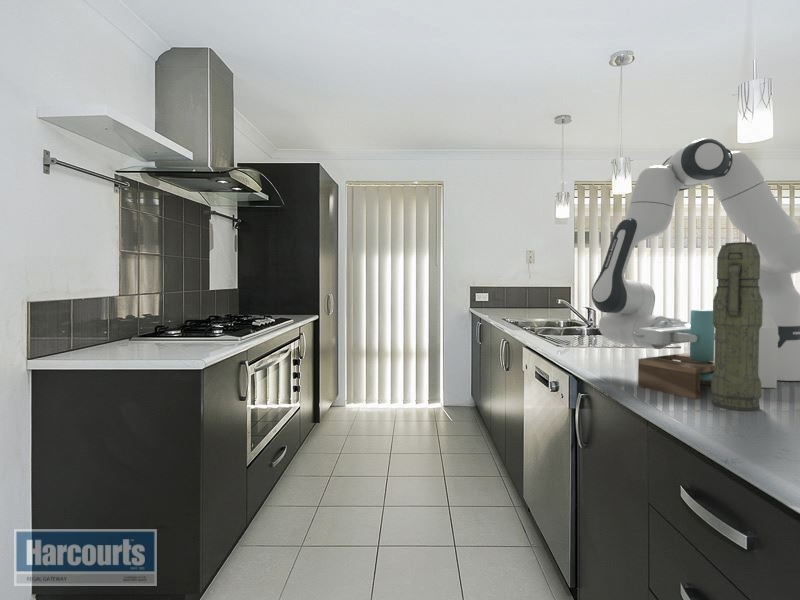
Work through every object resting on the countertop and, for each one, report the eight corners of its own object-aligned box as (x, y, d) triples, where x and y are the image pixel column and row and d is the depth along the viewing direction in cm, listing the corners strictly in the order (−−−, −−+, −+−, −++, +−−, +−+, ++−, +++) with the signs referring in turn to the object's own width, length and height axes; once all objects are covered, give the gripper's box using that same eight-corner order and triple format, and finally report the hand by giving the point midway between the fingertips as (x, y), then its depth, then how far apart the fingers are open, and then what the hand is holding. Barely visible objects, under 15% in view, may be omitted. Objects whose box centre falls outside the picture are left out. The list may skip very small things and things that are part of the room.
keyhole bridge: (684, 378, 134) (684, 353, 134) (742, 390, 120) (743, 361, 120) (638, 386, 126) (638, 358, 126) (695, 399, 113) (695, 368, 112)
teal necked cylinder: (691, 374, 124) (692, 309, 124) (717, 377, 120) (718, 310, 120) (685, 378, 120) (686, 310, 120) (711, 381, 116) (713, 311, 116)
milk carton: (776, 388, 121) (778, 311, 120) (744, 387, 123) (746, 311, 122) (761, 382, 128) (763, 309, 127) (731, 381, 130) (732, 309, 129)
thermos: (709, 408, 104) (712, 242, 103) (712, 397, 114) (714, 245, 112) (761, 415, 100) (765, 240, 98) (759, 402, 109) (763, 243, 108)
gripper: (627, 322, 127) (677, 327, 114) (679, 318, 136) (731, 322, 123) (626, 346, 127) (677, 354, 115) (679, 341, 136) (731, 347, 124)
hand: (705, 337), depth 119 cm, fingers closed on teal necked cylinder, 5 cm apart
